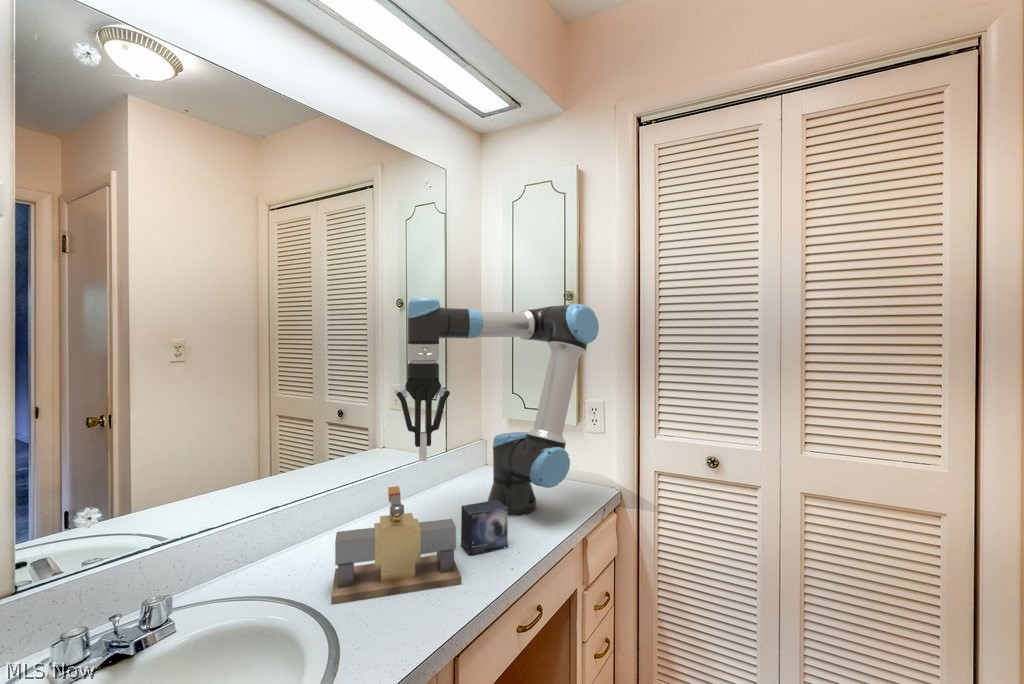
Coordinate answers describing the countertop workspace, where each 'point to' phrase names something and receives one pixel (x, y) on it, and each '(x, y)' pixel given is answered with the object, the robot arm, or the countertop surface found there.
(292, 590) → the countertop surface
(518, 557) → the countertop surface
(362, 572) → the base board
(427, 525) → the valve
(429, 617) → the countertop surface
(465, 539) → the small box
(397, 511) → the valve lever
